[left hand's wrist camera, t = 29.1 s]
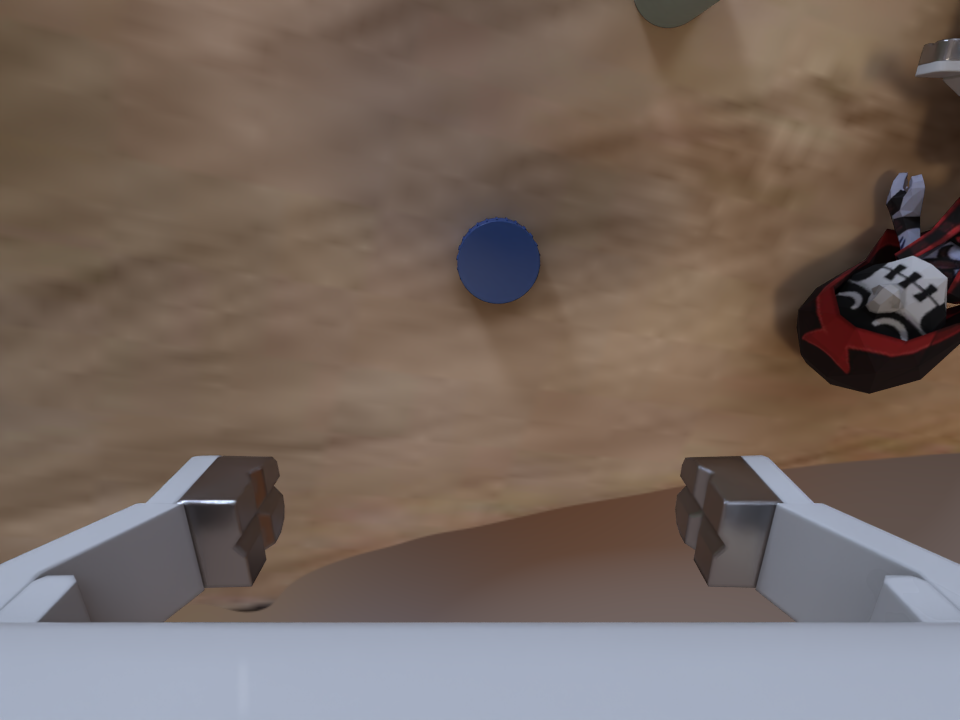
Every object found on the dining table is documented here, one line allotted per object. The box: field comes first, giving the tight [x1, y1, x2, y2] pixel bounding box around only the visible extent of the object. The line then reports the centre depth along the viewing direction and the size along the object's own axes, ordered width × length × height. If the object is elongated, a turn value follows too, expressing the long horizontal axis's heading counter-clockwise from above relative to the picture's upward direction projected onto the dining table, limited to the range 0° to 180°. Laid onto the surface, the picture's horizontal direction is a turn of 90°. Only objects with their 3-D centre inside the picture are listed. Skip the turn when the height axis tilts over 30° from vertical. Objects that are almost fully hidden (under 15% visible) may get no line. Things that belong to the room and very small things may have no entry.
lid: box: [457, 217, 540, 304], centre depth 35 cm, size 6×6×2 cm
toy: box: [797, 173, 960, 394], centre depth 32 cm, size 12×9×15 cm
